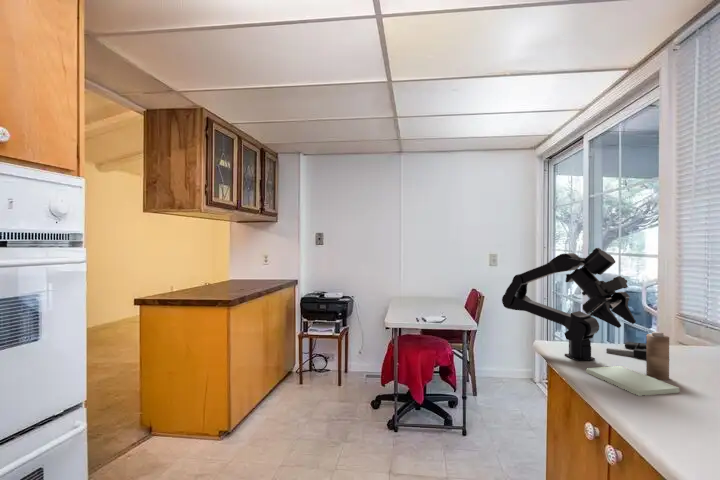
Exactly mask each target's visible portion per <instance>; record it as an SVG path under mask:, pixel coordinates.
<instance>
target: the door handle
mask: <svg viewBox="0 0 720 480" xmlns="http://www.w3.org/2000/svg"><path fill="white" fill-rule="evenodd" d="M646 345H647V343H642V342H634V341H632V342H631V341H628V342H625V343H624V348H625V349H621V348H620V349H619V348H612V347H611V348H610V347H607V348H606V349H605V351H606V354H612V355H619V356H624V357H631V358H634V359H640V360H646Z"/></svg>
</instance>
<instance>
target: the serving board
mask: <svg viewBox="0 0 720 480" xmlns="http://www.w3.org/2000/svg"><path fill="white" fill-rule="evenodd" d="M585 371H586V373H587V374H588V375H591V376H594V377H596V378H598V379H599V380H602V381H604V380H605V381H604V382H606V381H607V382H606V383H609V384H611V385H613V384H614V385H613V386H615V385H616V387H617V386H618V388H620V389H622V390H624V389H625V391H626V390H627V392H628V391H629V392H628V393H632V394H633V395H635V394H636V395H635V396H637V395H638V396H637V397H643V396H642V395H645V396H654V395H669V394H678V393H680V387H678V386H675V385H672V384H670V383H667V382H665V381H664V380H658V379H655V378H652V377H650V376H647V375H646V374H644V373H643V372H639V371H637V370H634V369H631V368H629V367H626V366H624V365H618V366H617V365H616V366H602V367H601V366H600V367H588V368H586V370H585Z"/></svg>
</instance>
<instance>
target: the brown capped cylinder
mask: <svg viewBox="0 0 720 480" xmlns="http://www.w3.org/2000/svg"><path fill="white" fill-rule="evenodd" d="M646 344H647V345H646V359H645V360H646V363H645V365H646V366H645V367H646V371H645V372H646V374H645V375H647V376H650V377H652V378H655V379H658V380H660V381H668V380H670V337H669V336H667V335H664V332H661V331H652V332H651V333H649V334H646Z"/></svg>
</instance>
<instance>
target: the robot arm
mask: <svg viewBox="0 0 720 480" xmlns="http://www.w3.org/2000/svg"><path fill="white" fill-rule="evenodd" d="M614 264H616V260H615V257H613V256H612V255H611V254H609V253H607V252H606V251H604V250H602V249H601V248H600V247H595V248H594V249H593V250H592V251H591V253H590V254H588V255H587V256H586V257H580V256H579V255H578V254H576V253H574V252H568V253H561V254H558V255H557V256H555V257H553V258H552V259H551V260H550V261H549V262H547V263H545V264H542V265H540V266H537V267H535V268H533V269H530V270H526V271H524V272H522V273H518V274H515V275H514V276H513V277H512V281H511V283H510V284H509V285H508V286H507V288H506V290H505V292H504V294H503V295H502V298H501V303H502V304H503V305H502V306H503V307H504V308H505V309H508V310H512V311H513V310H514V311H522V312H527V313H530V314H532V315H534V316H537V317H541V318H543V319H545V320H548V321H550V322H553V323H555V324H559V325H561V326H564V328H565V329H567V331H565V332H564V336H565V339H566V340H567V341H568V353H564V356H565V357H568V358H570V359H573V360H574V361H577V362H581V361H595V360H596V358H595V357H593V356H592V346H591V345H592V341H591V340H590V339H593V338H594V335H595V334H597V333H598V332H599V331H600V324H599V321H598V320H597V319H599V320H601V321H603V322H605V323H607V324H610V325H611V326H613V327H616V328H619V329H620V328H621V327H622V324H621V323H620V321H619V319H617V317H616V316H615V315H617V316H619V317H620V318H622V319H624V320H625V321H627V322H629V323H630V324H632V325H634V324H635V323H636V322H637V321H636V319H635V317H634V315H633V313H632V312H631V310H630V307H629V301H630V297H631V296H630V295H629V294H628V293H627V292H626V291H619V290H622V289H627V288H628V287H629V286H628V280H627V279H626V278H625V277H622V276H620V275H617V276H615V277H613V279H611V280H608V281H604V280H599V279H598V278H597V277H596V276H595V275H598V276H599V275H600V276H601V275H602V274H604V273H605V272H606V271H607V270H609V269H610V268H611V267H612V266H614ZM570 271H572V272H571V273H566V274H565V276H566V277H565V282H566V283H573V282H574V283H575V284H576V285H577V286H578V287H579V289H581V291H582V292H581V295H583V296H586V297H588V298H589V299H588V300H586V301H585V302H584V303H583V304H582V310H583V311H581V310H578V311H573V312H571V313H568V312H565V311H563V310H560V309H557V308H553V307H552V306H548V305H545V304H542V303H540V302H537V301H534V300H532V299H531V298H530V297H528V295H527V293H528V285H529V283H532V282H534V281H537V280H540V279H542V278H545V277H549V276H551V275H554V274H558V273H565V272H570ZM596 318H597V319H596Z"/></svg>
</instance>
